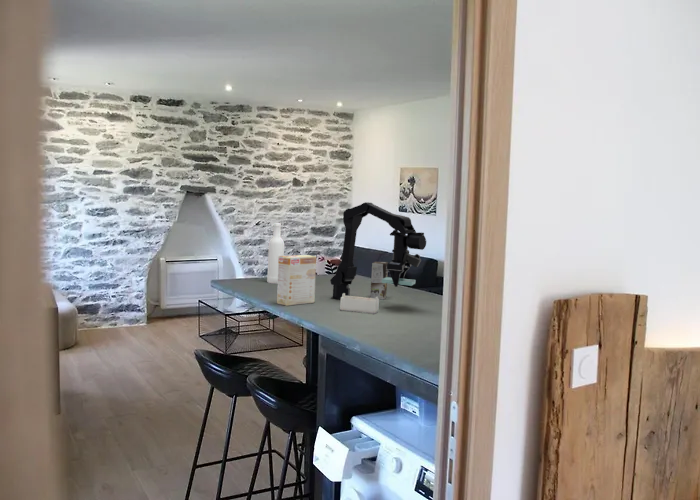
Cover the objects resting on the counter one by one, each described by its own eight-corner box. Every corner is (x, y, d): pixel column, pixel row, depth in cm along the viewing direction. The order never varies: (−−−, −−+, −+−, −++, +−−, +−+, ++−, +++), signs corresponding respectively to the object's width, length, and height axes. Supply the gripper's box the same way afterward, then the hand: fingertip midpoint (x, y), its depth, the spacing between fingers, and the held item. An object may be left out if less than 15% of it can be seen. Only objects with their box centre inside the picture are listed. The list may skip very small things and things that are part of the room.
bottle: (264, 282, 306) (267, 222, 303) (269, 280, 313) (271, 222, 311) (280, 284, 304) (283, 223, 302) (284, 282, 312) (287, 223, 310)
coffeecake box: (304, 300, 260) (306, 254, 259) (315, 302, 255) (317, 256, 254) (275, 303, 250) (277, 255, 248) (286, 306, 245) (288, 257, 243)
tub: (339, 310, 242) (340, 294, 241) (344, 307, 247) (345, 292, 247) (374, 313, 237) (375, 298, 237) (378, 311, 243) (379, 295, 242)
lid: (381, 282, 249) (381, 279, 249) (386, 280, 257) (386, 277, 256) (411, 285, 246) (411, 281, 246) (415, 283, 253) (415, 279, 253)
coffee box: (383, 299, 272) (386, 263, 271) (369, 298, 273) (371, 262, 272) (386, 296, 281) (388, 261, 280) (373, 295, 282) (374, 260, 281)
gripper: (415, 250, 239) (412, 290, 240) (424, 247, 256) (422, 284, 258) (387, 248, 242) (385, 287, 243) (398, 245, 260) (396, 282, 261)
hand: (398, 285), depth 251 cm, fingers closed on lid, 7 cm apart
